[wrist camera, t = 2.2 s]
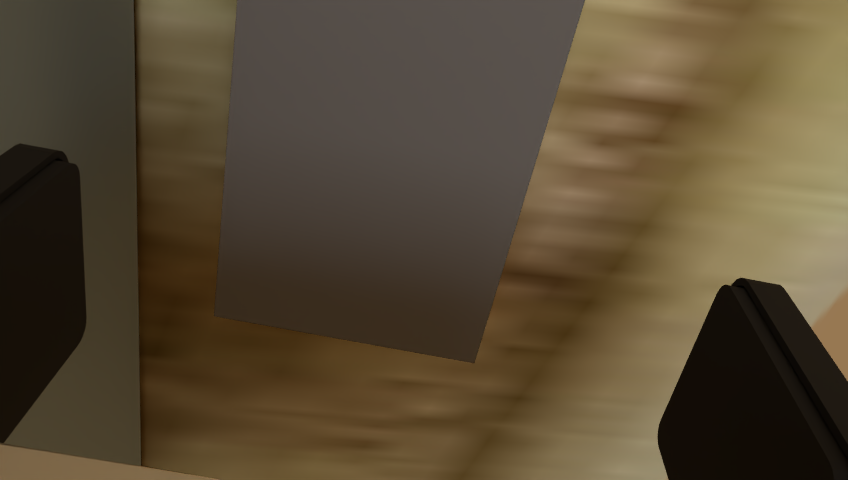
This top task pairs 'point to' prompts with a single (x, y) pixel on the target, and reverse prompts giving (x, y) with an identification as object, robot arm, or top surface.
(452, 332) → the doorstop block
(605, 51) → the top surface
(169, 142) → the top surface
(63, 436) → the door
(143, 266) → the top surface
